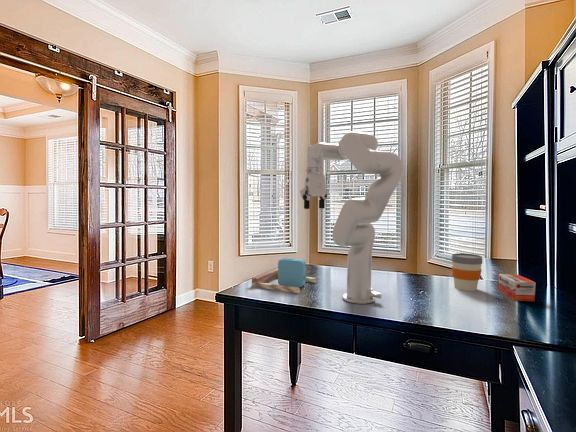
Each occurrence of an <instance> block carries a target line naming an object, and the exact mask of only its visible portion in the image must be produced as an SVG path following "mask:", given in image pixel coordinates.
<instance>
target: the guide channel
mask: <svg viewBox="0 0 576 432" xmlns="http://www.w3.org/2000/svg"><path fill="white" fill-rule="evenodd" d="M276 279H278V268H277V269H276V268H273V269H270V270H267V271H265V272H262V273H260V274H257V275H255V276H253V277H251V287H252V288H253V287H254V288H259V289H260V288H261V289H267V290H272V291H273V290H274V291H280V292H287V293H293V294H300V293H301V289H300V288H301V287H291V286H283V285H279V284H274V283H270V282H272V281H274V280H276ZM305 283H314V284H316V283H317V277H312V276H311V277H310V276H306V280H305Z"/></svg>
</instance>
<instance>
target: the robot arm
mask: <svg viewBox="0 0 576 432" xmlns="http://www.w3.org/2000/svg"><path fill="white" fill-rule="evenodd" d="M378 147H379V141H378V139H377V137H376V136H375V135H373V134H371V133H368V132H363V131H361V132H360V131H354V130H352V131H347V132H346V133H345V134H344V135H343V136H342V137H341V139H340V140H339V142H338V143H327V142H317V143H315V144H310V145H308V147H307V149H306V153H307V154H306V158H307V160H306V169H305V172H306V175H305V181H304V186H303V188H302V189H300V190H299V193H300V196H301V198H302V200H303V209H304V210H309V209H310V208H311V207H310V201H311V200H310V198H311V197H318V198H319V200H318V209H325V206H326V205H325V203H326V202H325V201H326V200H327V197H328V195H329V194H328V193H329V190H328V189H327V188H326V179H325V178H326V177H325V175H324V161H332V162H333V161H335V162H337V161H339V162H340V161H346V160H349V162H350V163H351V165H352V166H353V167H354V168H355V169H356V171H358V172H359V173H361V174H367V175H379V176H378V177H377V178H376V179H375V180H373V182H372V183H371V184H370V185H369V187H368V190H367V192H366V194H365V195H364V196H363V197H356V198H355V197H353V198H350V199H348V200H346V201H345V203H343V205H342V207H341V209H340V212H339V214H338V216H337V218H336V220H335V223H334V225H333V229H332V240H333V241H334V244H336V245H337V246H339V247H350V248H349V249H348V254H347V262H346V263H347V265H346V266H347V267H346V293H344V294H342V299H343V300H344V301H345V302H347V303H351V304H359V305H360V304H361V305H362V304H363V305H366V304H372V303H373V302H375V298H376V299H379V300H380V299H383V298H382V297H383V294H382V293H380V292H378V291H374V289H373V287H372V265H373V264H372V263H373V247H374V243H375V237H376V229H375V227H374V225H373V224H372V223H376V222H378V221H379V220H380V219H381V217H382V215H383V213H384V211H385V210H386V208H387V206H388V203H389V201H390V200H391V197H392V195H393V194H394V191H396V188H397V187H398V185H399V184H400V182H401V180H402V178H403V174H404V173H403V172H404V167H403V166H404V165H403V162H402V159H401V158H400V157H399V156H398V155H397V154H396V153H394V152H391V151H385V150H377V149H378Z"/></svg>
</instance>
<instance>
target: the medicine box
mask: <svg viewBox="0 0 576 432" xmlns="http://www.w3.org/2000/svg"><path fill="white" fill-rule="evenodd" d="M497 281H498V282H497V291H498V292H499V293H501V294H503V295H504V296H506V297H507V298H510V299H511V300H513V301H517V302H518V301H519V302H535V299H536V298H535V297H536V284H537V283H536V282H535V281H533V280H531V279H529V278H527V277H524V276H522V275H520V274H518V273H517V274H516V273H515V274H513V273H512V274H511V273H509V274H508V273H498V279H497Z"/></svg>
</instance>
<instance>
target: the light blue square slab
mask: <svg viewBox="0 0 576 432" xmlns="http://www.w3.org/2000/svg"><path fill="white" fill-rule="evenodd" d="M306 265H307V263H306V261H305V259H299V258H288V257H287V258H286V257H283V258H281V259H279V260H278V263H277V269H278V278H277V285H283V286H290V287H297V288H302V287H304V285H305V284H306V282H305V280H306V277H307V276H306V272H307V271H306V270H307V267H306Z"/></svg>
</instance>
